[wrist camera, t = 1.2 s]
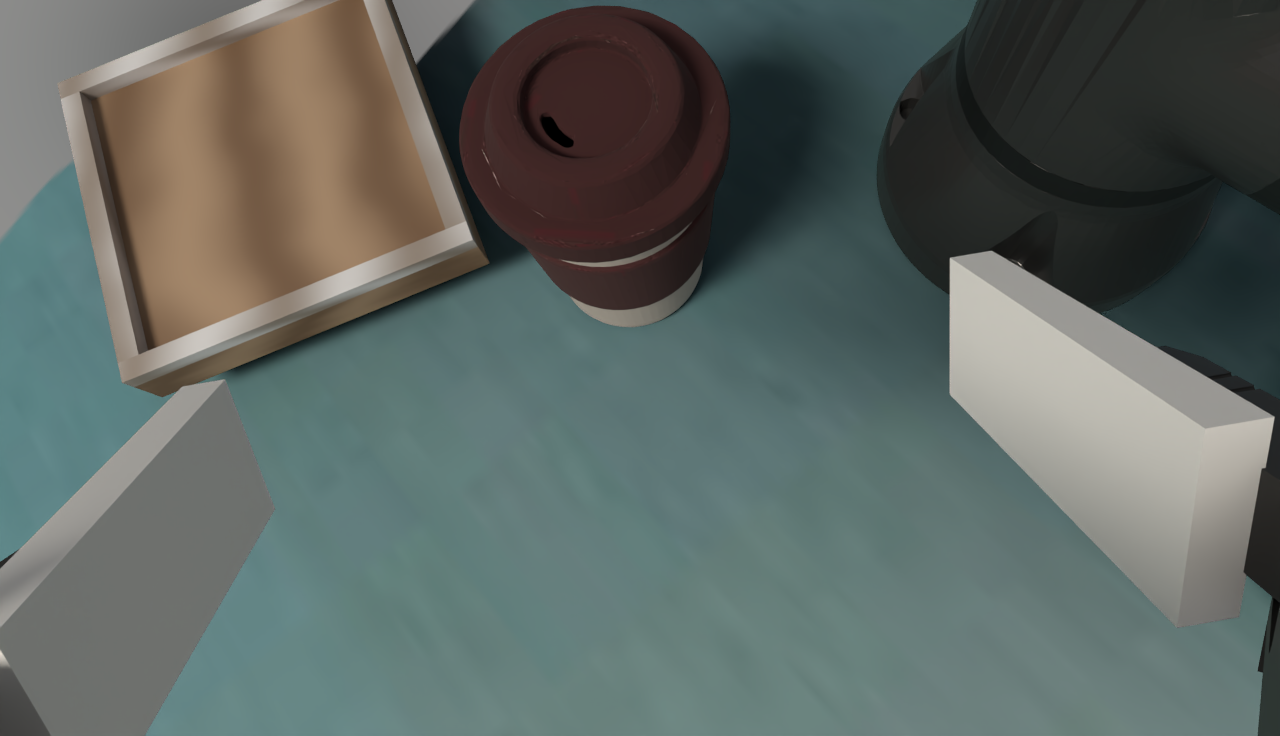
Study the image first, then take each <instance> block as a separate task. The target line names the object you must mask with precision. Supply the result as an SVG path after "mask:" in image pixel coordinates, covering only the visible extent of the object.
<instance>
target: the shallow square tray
mask: <svg viewBox="0 0 1280 736" xmlns="http://www.w3.org/2000/svg"><path fill="white" fill-rule="evenodd" d="M58 89H59V93H60V98H61V102H62V107H63V112H64V116H65V121H66V126H67V130H68V135H69V139H70V144H71V149H72V153H73V158H74V162H75V167H76V172H77V176H78V181H79V186H80V190H81V195H82V199H83V204H84V209H85V213H86V218H87V222H88V227H89V232H90V236H91V241H92V246H93V250H94V255H95V259H96V264H97V269H98V273H99V278H100V282H101V287H102V292H103V296H104V301H105V306H106V310H107V315H108V319H109V324H110V329H111V333H112V338H113V342H114V347H115V352H116V356H117V361H118V366H119V370H120V375H121V379H122V383H124V384H127V385H130V386H133V387H135V388H138V389H141V390H144V391H147V392H149V393H152V394H155V395H158V396H160V397H164V396H166V395H169V394H171V393H174V392H176V391H178V390H179V389H180V388H181V387H183V386H189V385H193V384H196V383H198V382H201V381H203V380H206V379H208V378H210V377H213V376H215V375H218V374H220V373H223V372H225V371H228V370H230V369H232V368H235V367H237V366H240V365H242V364H245V363H247V362H250V361H252V360H254V359H257V358H259V357H262V356H264V355H267V354H269V353H272V352H274V351H277V350H279V349H281V348H284V347H286V346H289V345H291V344H294V343H296V342H299V341H301V340H303V339H306V338H308V337H311V336H313V335H316V334H318V333H321V332H323V331H325V330H328V329H330V328H333V327H335V326H338V325H340V324H343V323H345V322H347V321H350V320H352V319H355V318H357V317H360V316H362V315H365V314H367V313H370V312H372V311H374V310H377V309H379V308H382V307H384V306H387V305H389V304H392V303H394V302H396V301H399V300H401V299H404V298H406V297H409V296H411V295H414V294H416V293H418V292H421V291H423V290H426V289H428V288H431V287H433V286H436V285H438V284H441V283H443V282H445V281H448V280H450V279H453V278H455V277H458V276H460V275H463V274H465V273H467V272H470V271H472V270H475V269H477V268H480V267H482V266H485V265H487V264H489V260H488V258H487V255H486V252H485V250H484V247H483V244H482V241H481V239H480V236H479V233H478V231H477V228H476V225H475V223H474V220H473V217H472V215H471V212H470V209H469V206H468V204H467V201H466V198H465V196H464V193H463V190H462V188H461V185H460V182H459V180H458V177H457V174H456V171H455V169H454V166H453V163H452V161H451V158H450V155H449V153H448V150H447V147H446V144H445V142H444V139H443V136H442V134H441V131H440V128H439V126H438V123H437V120H436V118H435V115H434V112H433V109H432V107H431V104H430V101H429V99H428V96H427V93H426V91H425V88H424V85H423V82H422V80H421V77H420V74H419V72H418V69H417V66H416V64H415V61H414V58H413V56H412V53H411V50H410V47H409V45H408V42H407V39H406V37H405V34H404V32H403V29H402V26H401V23H400V21H399V18H398V15H397V12H396V10H395V7H394V4H393V2H392V0H262V1H260V2H257V3H255V4H252V5H250V6H247V7H245V8H242V9H240V10H237V11H235V12H232V13H230V14H227V15H225V16H222V17H220V18H218V19H215V20H213V21H210V22H208V23H205V24H203V25H200V26H198V27H195V28H193V29H190V30H188V31H186V32H183V33H181V34H178V35H176V36H173V37H171V38H168V39H166V40H163V41H161V42H158V43H156V44H153V45H151V46H148V47H146V48H143V49H141V50H138V51H136V52H134V53H131V54H129V55H126V56H124V57H121V58H119V59H116V60H114V61H111V62H109V63H106V64H104V65H101V66H99V67H96V68H94V69H92V70H89V71H87V72H84V73H82V74H79V75H77V76H74V77H72V78H69V79H67V80H64V81H62V82H60V83H58Z"/></svg>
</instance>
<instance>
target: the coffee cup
mask: <svg viewBox="0 0 1280 736" xmlns="http://www.w3.org/2000/svg"><path fill="white" fill-rule="evenodd" d="M459 146H460V154H461V159H462V164H463V167H464V170H465V174H466V176H467V178H468V181H469V183H470V185H471V187H472V188H473V190H474V192H475V194H476V195H477V197H478V199H479V200H480V202H481V203H482V205H483V207H484V208H485V210H486V211H487V213H488V214H489V215H490V217H491V218H492V219H493V220H494V222H495V223H496V224H497V225H498V226H499V227H500V228H501V229H502V230H503V231H505V232H506V233H507V234H508V235H510V236H511V237H512V238H513V239H515V240H516V241H518V242H519V243H520V244H522V245H524V246H525V247H526V248H527V249H528V250H529V252H530V253H531V254H532V255H533V257H534V258H535V259H536V261H537V262H538V263H539V264H540V266H541V267H542V268H543V270H544V271H545V272H546V273H547V275H548V276H549V277H550V278H551V280H552V281H553V282H554V283H555V284H556V285H557V286H558V287H559V288H560V289H561V290H562V291H564V292H565V293H566V294H568V295H569V296H570V297H571V299H572V300H573V301H574V302H575V304H576V305H577V306H578V307H579V308H580V309H581V310H583V311H584V312H585V313H586V314H588V315H590V316H591V317H593V318H595V319H597V320H599V321H601V322H603V323H606V324H610V325H614V326H621V327H637V326H644V325H648V324H652V323H654V322H657V321H660V320H662V319H664V318H666V317H667V316H669V315H670V314H672V313H673V312H675V311H676V310H677V309H679V308H680V307H681V306H682V305H683V303H684V302H685V301H686V300H687V299H688V298H689V297H690V295H691V294H692V292H693V290H694V289H695V287H696V285H697V283H698V280H699V277H700V274H701V270H702V264H703V257H704V254H705V252H706V249H707V246H708V243H709V238H710V231H711V222H712V214H713V205H714V196H715V191H716V189H717V187H718V185H719V183H720V180H721V178H722V176H723V173H724V170H725V166H726V163H727V160H728V154H729V147H730V107H729V101H728V95H727V92H726V88H725V85H724V82H723V80H722V77H721V75H720V72H719V71H718V69H717V67H716V65H715V63H714V62H713V60H712V59H711V58H710V56H709V55H708V54H707V52H706V51H705V50H704V49H703V47H702V46H701V45H700V44H699V43H698V42H697V41H696V40H695V39H694V38H693V37H691V36H690V35H689V34H688V33H686V32H685V31H683V30H682V29H681V28H679V27H678V26H677V25H675V24H673V23H671V22H669V21H667V20H665V19H663V18H661V17H659V16H657V15H654V14H652V13H649V12H645V11H641V10H636V9H631V8H626V7H621V6H590V7H583V8H575V9H569V10H566V11H562V12H559V13H556V14H554V15H551V16H549V17H546V18H543V19H541V20H538V21H537V22H535V23H533V24H531V25H529V26H527V27H525V28H524V29H522V30H521V31H519V32H518V33H516V34H515V35H514V36H512V37H511V38H510V39H509V40H507V41H506V42H505V43H504V44H503V45H501V46H500V47H499V48H498V49H497V50H496V52H495V53H494V54H493V55H492V56H491V57H490V58H489V59H488V61H487V62H486V63H485V64H484V66H483V67H482V69H481V70H480V72H479V73H478V75H477V76H476V78H475V79H474V81H473V83H472V85H471V87H470V90H469V93H468V95H467V98H466V101H465V104H464V106H463V111H462V116H461V122H460V130H459Z"/></svg>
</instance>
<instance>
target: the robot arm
mask: <svg viewBox="0 0 1280 736" xmlns="http://www.w3.org/2000/svg"><path fill="white" fill-rule="evenodd" d="M1222 182H1225V183H1226V184H1228V185H1230V186H1231V187H1233V188H1235V189H1236V190H1238V191H1240V192H1241V193H1243V194H1245V195H1247V196H1249V197H1250V198H1252V199H1254V200H1256V201H1257V202H1259V203H1261V204H1262V205H1264V206H1266V207H1267V208H1269V209H1271V210H1273V211H1274V212H1276V213H1278V214H1279V215H1280V0H977V2H976V5H975V7H974V10H973V12H972V15H971V17H970V20H969V22H968V25H967V26H966V27H965V28H964V29H963V30H961V31H960V32H959V33H958V34H957V35H956V36H955V37H954V38H953V39H952V40H950V41H949V42H948V43H947V44H946V45H945V46H944V47H943V48H942V49H940V50H939V51H938V52H937V53H936V54H935V55H934V56H933V57H932V58H931V59H929V60H928V61H927V62H926V63H925V64H924V65H923V66H922V67H921V68H920V69H919V70H918V72H917V73H916V74H915V75H914V76H913V77H912V79H911V80H910V81H909V83H908V84H907V86H906V87H905V89H904V90H903V92H902V93H901V95H900V97H899V98H898V100H897V102H896V104H895V106H894V108H893V111H892V113H891V116H890V118H889V121H888V124H887V127H886V130H885V133H884V136H883V139H882V143H881V146H880V151H879V155H878V163H877V187H878V195H879V200H880V205H881V208H882V212H883V215H884V218H885V220H886V223H887V225H888V227H889V229H890V231H891V233H892V235H893V237H894V239H895V241H896V242H897V244H898V245H899V247H900V248H901V250H902V251H903V253H904V254H905V255H906V257H907V258H908V259H909V260H910V261H911V263H912V264H913V265H914V266H915V267H916V268H917V269H918V270H919V271H920V272H921V273H922V274H923V275H924V276H925V277H926V278H928V279H929V280H930V281H931V282H933V283H934V284H935V285H936V286H938V287H939V288H941V289H942V290H943V291H945V292H946V293H948V294H950V395H951V396H952V397H953V398H954V399H955V400H956V401H957V402H958V403H959V404H960V405H961V406H962V407H963V408H964V409H965V411H966V412H967V413H968V414H969V415H970V416H971V417H972V418H973V419H974V420H975V421H976V422H977V423H978V424H979V425H980V426H981V427H982V428H983V429H984V430H985V431H986V432H987V433H988V434H989V435H990V436H991V437H992V438H993V439H994V440H995V441H996V442H997V443H998V444H999V445H1000V446H1001V447H1002V449H1003V450H1004V451H1005V452H1006V453H1007V454H1008V455H1009V456H1010V457H1011V458H1012V459H1013V460H1014V461H1015V462H1016V463H1017V464H1018V465H1019V466H1020V467H1021V468H1022V469H1023V470H1024V471H1025V472H1026V473H1027V474H1028V475H1029V476H1030V477H1031V478H1032V479H1033V480H1034V481H1035V482H1036V483H1037V484H1038V486H1039V487H1040V488H1041V489H1042V490H1043V491H1044V492H1045V493H1046V494H1047V495H1048V496H1049V497H1050V498H1051V499H1052V500H1053V501H1054V502H1055V503H1056V504H1057V505H1058V506H1059V507H1060V508H1061V509H1062V510H1063V511H1064V512H1065V513H1066V514H1067V515H1068V516H1069V517H1070V518H1071V519H1072V520H1073V521H1074V522H1075V524H1076V525H1077V526H1078V527H1079V528H1080V529H1081V530H1082V531H1083V532H1084V533H1085V534H1086V535H1087V536H1088V537H1089V538H1090V539H1091V540H1092V541H1093V542H1094V543H1095V544H1096V545H1097V546H1098V547H1099V548H1100V549H1101V550H1102V551H1103V552H1104V553H1105V554H1106V555H1107V556H1108V557H1109V558H1110V559H1111V561H1112V562H1113V563H1114V564H1115V565H1116V566H1117V567H1118V568H1119V569H1120V570H1121V571H1122V572H1123V573H1124V574H1125V575H1126V576H1127V577H1128V578H1129V579H1130V580H1131V581H1132V582H1133V583H1134V584H1135V585H1136V586H1137V587H1138V588H1139V589H1140V590H1141V591H1142V592H1143V593H1144V594H1145V595H1146V596H1147V597H1148V599H1149V600H1150V601H1151V602H1152V603H1153V604H1154V605H1155V606H1156V607H1157V608H1158V609H1159V610H1160V611H1161V612H1162V613H1163V614H1164V615H1165V616H1166V617H1167V618H1168V619H1169V620H1170V621H1171V622H1172V623H1173V624H1174V625H1175V626H1176V627H1177V628H1179V627H1184V626H1190V625H1196V624H1202V623H1207V622H1213V621H1219V620H1225V619H1230V618H1236V617H1239V613H1240V608H1241V602H1242V597H1243V591H1244V586H1245V580H1246V575H1247V576H1248V577H1250V578H1251V579H1252V580H1253V581H1254V582H1256V583H1257V584H1258V585H1259V586H1260V587H1261V588H1263V589H1264V590H1265V591H1266V592H1267V593H1269V594H1270V595H1271V596H1272V601H1271V606H1270V611H1269V616H1268V621H1267V626H1266V631H1265V636H1264V641H1263V646H1262V651H1261V656H1260V661H1259V667H1258V671H1259V672H1263V679H1262V691H1261V703H1260V715H1259V727H1258V736H1280V400H1279V399H1277V398H1276V397H1274V396H1272V395H1270V394H1268V393H1267V392H1265V391H1263V390H1261V389H1256V390H1255V388H1254V385H1252V384H1250V383H1249V382H1247V381H1245V380H1243V379H1242V378H1240V377H1238V376H1232V375H1231V372H1229V371H1227V370H1225V369H1224V368H1222V367H1220V366H1218V365H1217V364H1215V363H1213V362H1211V361H1209V360H1208V359H1206V358H1204V357H1201V356H1198V355H1195V354H1191V353H1188V352H1184V351H1181V350H1178V349H1174V348H1171V347H1167V346H1161V347H1155V346H1153V345H1151V344H1150V343H1148V342H1146V341H1145V340H1143V339H1141V338H1140V337H1138V336H1136V335H1134V334H1133V333H1131V332H1129V331H1128V330H1126V329H1124V328H1122V327H1121V326H1119V325H1117V324H1116V323H1114V322H1112V321H1111V320H1109V319H1107V318H1105V317H1104V316H1102V315H1100V314H1099V313H1101V312H1104V311H1107V310H1110V309H1112V308H1114V307H1116V306H1119V305H1121V304H1123V303H1125V302H1126V301H1128V300H1130V299H1132V298H1133V297H1135V296H1136V295H1138V294H1139V293H1141V292H1142V291H1144V290H1145V289H1146V288H1148V287H1149V286H1150V285H1152V284H1153V283H1154V282H1156V281H1157V280H1158V279H1160V278H1161V277H1162V276H1164V275H1165V274H1166V273H1167V272H1169V271H1170V270H1171V269H1172V268H1173V267H1174V266H1175V265H1176V264H1177V263H1178V262H1179V261H1180V260H1181V259H1182V258H1183V257H1184V256H1185V255H1186V253H1187V252H1188V251H1189V249H1190V248H1191V247H1192V246H1193V244H1194V243H1195V242H1196V240H1197V239H1198V237H1199V235H1200V234H1201V232H1202V230H1203V228H1204V226H1205V224H1206V222H1207V220H1208V218H1209V215H1210V213H1211V209H1212V206H1213V203H1214V200H1215V198H1216V196H1217V193H1218V191H1219V189H1220V187H1221V184H1222ZM274 510H275V507H274V505H273V502H272V500H271V497H270V494H269V492H268V489H267V487H266V484H265V481H264V479H263V476H262V474H261V471H260V469H259V466H258V463H257V461H256V458H255V456H254V453H253V450H252V448H251V445H250V443H249V440H248V437H247V435H246V432H245V430H244V427H243V424H242V422H241V419H240V417H239V414H238V412H237V409H236V406H235V404H234V401H233V399H232V396H231V393H230V391H229V388H228V386H227V383H226V380H225V379H224V380H218V381H213V382H207V383H201V384H195V385H189V386H183V387H181V388H180V389H179V390H178V391H177V392H176V393H175V394H174V395H173V396H172V397H171V398H170V399H169V400H168V401H167V402H166V403H165V404H164V405H163V406H162V407H161V408H160V409H159V410H158V411H157V412H156V413H155V414H154V415H153V416H152V417H151V418H150V419H149V420H148V421H147V422H146V423H145V424H144V425H143V426H142V427H141V428H140V429H139V430H138V431H137V432H136V433H135V434H134V435H133V436H132V437H131V438H130V439H129V440H128V441H127V442H126V443H125V444H124V445H123V446H122V447H121V448H120V449H119V450H118V451H117V452H116V453H115V454H114V455H113V456H112V457H111V458H110V459H109V460H108V461H107V462H106V463H105V464H104V465H103V466H102V467H101V468H100V469H99V470H98V471H97V472H96V473H95V474H94V475H93V476H92V477H91V478H90V479H89V480H88V481H87V482H86V483H85V484H84V485H83V486H82V487H81V488H80V489H79V490H78V491H77V492H76V493H75V494H74V495H73V496H72V497H71V498H70V499H69V500H68V501H67V502H66V503H65V504H64V505H63V506H62V507H61V508H60V509H59V510H58V511H57V512H56V513H55V514H54V515H53V516H52V517H51V518H50V519H49V520H48V521H47V522H46V523H45V524H44V525H43V526H42V527H41V528H40V529H39V530H38V531H37V532H36V533H35V534H34V535H33V536H32V537H31V538H30V539H29V540H28V541H27V542H26V543H25V544H24V545H23V546H22V547H21V548H20V549H19V550H17V551H16V552H14V553H13V554H11V555H10V556H8V557H7V558H5V559H4V560H2V561H1V562H0V736H145V734H146V732H147V730H148V729H149V727H150V725H151V724H152V722H153V720H154V718H155V717H156V715H157V713H158V711H159V710H160V708H161V706H162V704H163V703H164V701H165V699H166V697H167V696H168V694H169V692H170V691H171V689H172V687H173V685H174V684H175V682H176V680H177V678H178V677H179V675H180V673H181V671H182V670H183V668H184V666H185V664H186V663H187V661H188V659H189V658H190V656H191V654H192V652H193V651H194V649H195V647H196V645H197V644H198V642H199V640H200V638H201V637H202V635H203V633H204V632H205V630H206V628H207V626H208V625H209V623H210V621H211V619H212V618H213V616H214V614H215V612H216V611H217V609H218V607H219V605H220V604H221V602H222V600H223V599H224V597H225V595H226V593H227V592H228V590H229V588H230V586H231V585H232V583H233V581H234V579H235V578H236V576H237V574H238V572H239V571H240V569H241V567H242V566H243V564H244V562H245V560H246V559H247V557H248V555H249V553H250V552H251V550H252V548H253V546H254V545H255V543H256V541H257V539H258V538H259V536H260V534H261V533H262V531H263V529H264V527H265V526H266V524H267V522H268V520H269V519H270V517H271V515H272V513H273V512H274Z"/></svg>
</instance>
